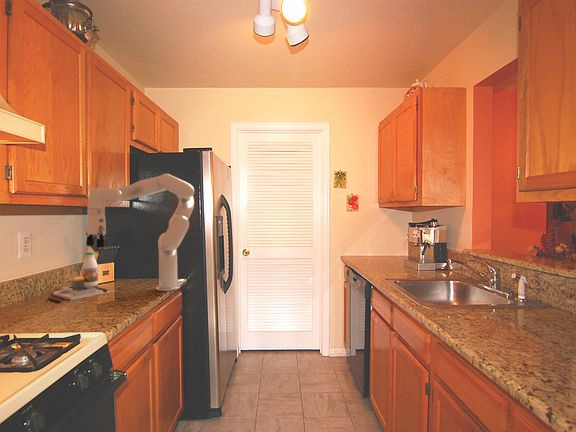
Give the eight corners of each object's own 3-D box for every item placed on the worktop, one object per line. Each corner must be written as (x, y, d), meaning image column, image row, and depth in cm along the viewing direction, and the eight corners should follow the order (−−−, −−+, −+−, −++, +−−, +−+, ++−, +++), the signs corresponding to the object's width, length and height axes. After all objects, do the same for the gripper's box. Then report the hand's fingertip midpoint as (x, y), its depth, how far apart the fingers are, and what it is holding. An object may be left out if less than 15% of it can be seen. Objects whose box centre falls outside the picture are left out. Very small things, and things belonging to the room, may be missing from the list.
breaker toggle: (80, 289, 167) (80, 276, 167) (84, 290, 165) (84, 277, 165) (72, 291, 164) (72, 278, 164) (75, 292, 162) (75, 278, 162)
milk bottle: (80, 286, 183) (79, 252, 183) (94, 283, 190) (93, 250, 190) (86, 287, 179) (85, 253, 179) (100, 285, 185) (99, 251, 185)
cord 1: (48, 299, 155) (48, 297, 155) (51, 298, 156) (51, 296, 156) (59, 303, 148) (59, 300, 148) (62, 302, 149) (62, 300, 149)
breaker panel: (85, 288, 176) (84, 282, 176) (103, 293, 165) (102, 287, 165) (53, 294, 164) (53, 288, 164) (70, 300, 153) (70, 293, 153)
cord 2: (91, 289, 176) (91, 287, 176) (96, 288, 178) (96, 286, 178) (102, 292, 169) (102, 290, 169) (107, 291, 171) (107, 289, 171)
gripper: (113, 212, 157) (112, 247, 157) (95, 212, 166) (94, 244, 166) (97, 212, 151) (96, 247, 150) (79, 212, 160) (78, 245, 160)
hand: (95, 246), depth 158 cm, fingers open, 9 cm apart
